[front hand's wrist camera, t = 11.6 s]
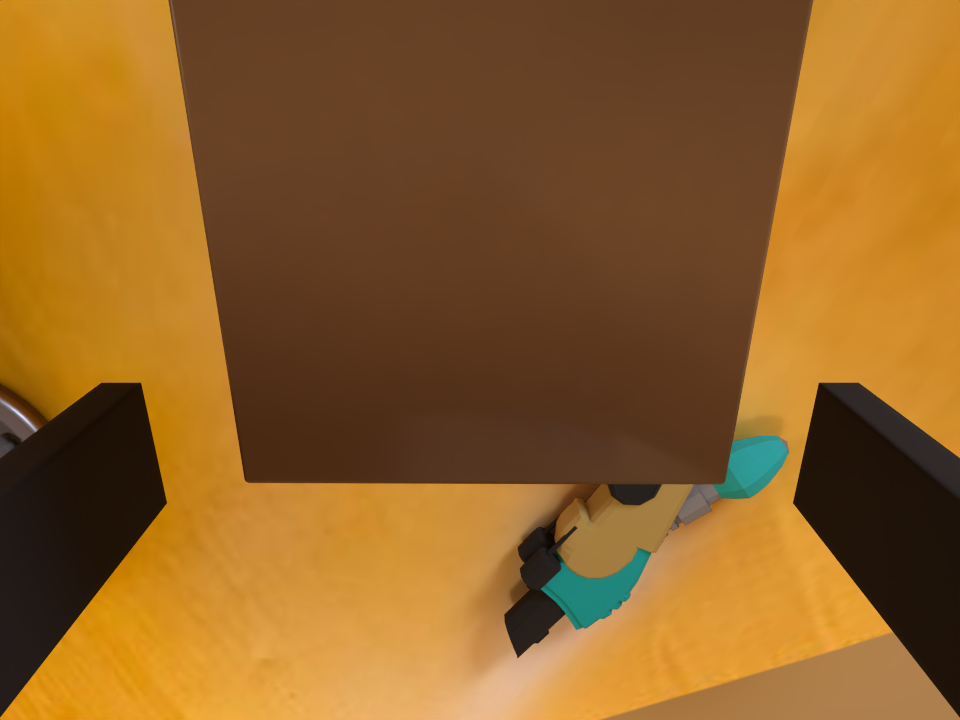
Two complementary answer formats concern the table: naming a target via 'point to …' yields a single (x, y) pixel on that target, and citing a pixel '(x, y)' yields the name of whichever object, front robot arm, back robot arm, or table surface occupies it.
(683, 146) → the bar
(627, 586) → the toy gun
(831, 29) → the table surface
